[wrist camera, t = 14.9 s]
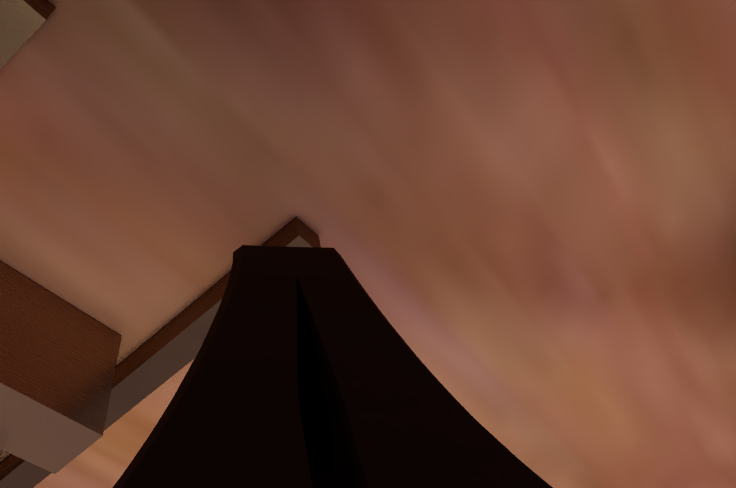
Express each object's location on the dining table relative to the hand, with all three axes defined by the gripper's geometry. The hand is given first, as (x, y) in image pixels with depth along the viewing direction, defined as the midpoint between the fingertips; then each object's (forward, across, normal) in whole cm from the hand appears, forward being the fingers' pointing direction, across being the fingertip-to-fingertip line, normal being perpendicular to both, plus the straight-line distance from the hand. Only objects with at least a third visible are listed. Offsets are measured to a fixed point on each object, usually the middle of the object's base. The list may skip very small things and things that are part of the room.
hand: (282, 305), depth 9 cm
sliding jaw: (+10, +7, +8) cm, 14 cm away
